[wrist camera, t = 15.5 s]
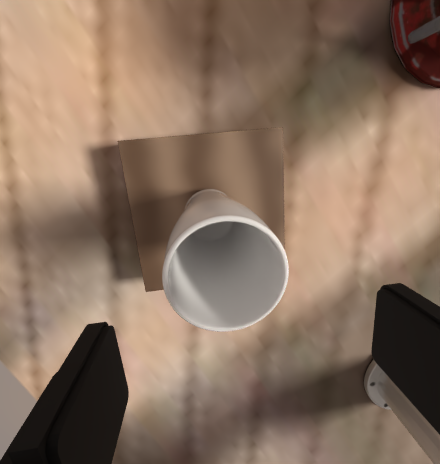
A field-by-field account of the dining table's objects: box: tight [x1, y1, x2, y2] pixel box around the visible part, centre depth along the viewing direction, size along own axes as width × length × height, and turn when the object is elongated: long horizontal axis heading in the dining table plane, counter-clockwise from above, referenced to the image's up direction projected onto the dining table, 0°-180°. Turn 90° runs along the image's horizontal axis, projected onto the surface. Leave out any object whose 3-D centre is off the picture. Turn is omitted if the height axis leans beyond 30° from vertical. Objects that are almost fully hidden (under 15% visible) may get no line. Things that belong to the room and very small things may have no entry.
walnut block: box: [118, 127, 285, 292], centre depth 30 cm, size 16×16×4 cm
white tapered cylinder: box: [162, 189, 289, 332], centre depth 21 cm, size 7×7×15 cm
